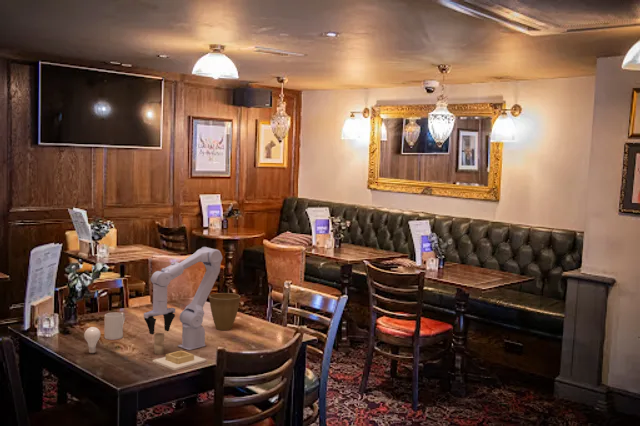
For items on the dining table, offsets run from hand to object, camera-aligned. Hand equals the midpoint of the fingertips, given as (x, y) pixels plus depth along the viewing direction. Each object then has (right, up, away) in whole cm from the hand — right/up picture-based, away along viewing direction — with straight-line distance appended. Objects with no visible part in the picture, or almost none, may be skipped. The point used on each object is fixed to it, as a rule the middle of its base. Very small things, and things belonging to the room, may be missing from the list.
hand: (159, 332), depth 271 cm
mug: (-25, -6, +23) cm, 34 cm away
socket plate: (+11, -10, -9) cm, 17 cm away
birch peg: (0, -9, +1) cm, 9 cm away
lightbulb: (-27, -8, -3) cm, 28 cm away
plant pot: (+21, -6, +43) cm, 48 cm away
